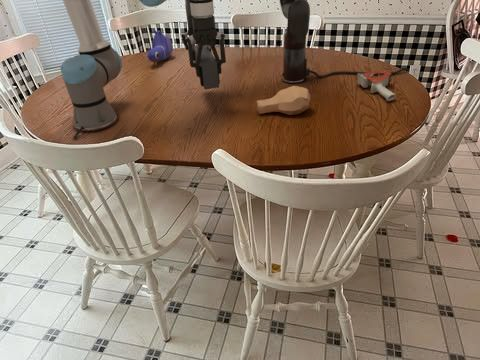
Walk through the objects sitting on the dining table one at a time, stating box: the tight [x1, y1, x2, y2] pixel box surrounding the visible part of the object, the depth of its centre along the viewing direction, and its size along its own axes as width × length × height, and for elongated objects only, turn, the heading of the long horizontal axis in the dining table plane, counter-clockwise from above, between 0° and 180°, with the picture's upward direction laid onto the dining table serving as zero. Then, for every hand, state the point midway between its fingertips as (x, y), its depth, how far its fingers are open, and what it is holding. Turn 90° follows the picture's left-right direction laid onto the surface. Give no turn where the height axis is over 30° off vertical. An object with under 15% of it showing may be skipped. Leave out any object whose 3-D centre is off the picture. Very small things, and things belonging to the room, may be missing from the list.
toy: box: [146, 29, 174, 67], centre depth 185 cm, size 10×17×25 cm
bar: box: [194, 44, 220, 90], centre depth 135 cm, size 23×5×9 cm, turn 14°
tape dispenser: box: [356, 69, 397, 102], centre depth 142 cm, size 18×5×20 cm
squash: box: [255, 85, 312, 116], centre depth 130 cm, size 11×20×9 cm, turn 92°
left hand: (210, 83), depth 131 cm, fingers closed on bar, 5 cm apart
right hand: (201, 58), depth 141 cm, fingers closed on bar, 5 cm apart
